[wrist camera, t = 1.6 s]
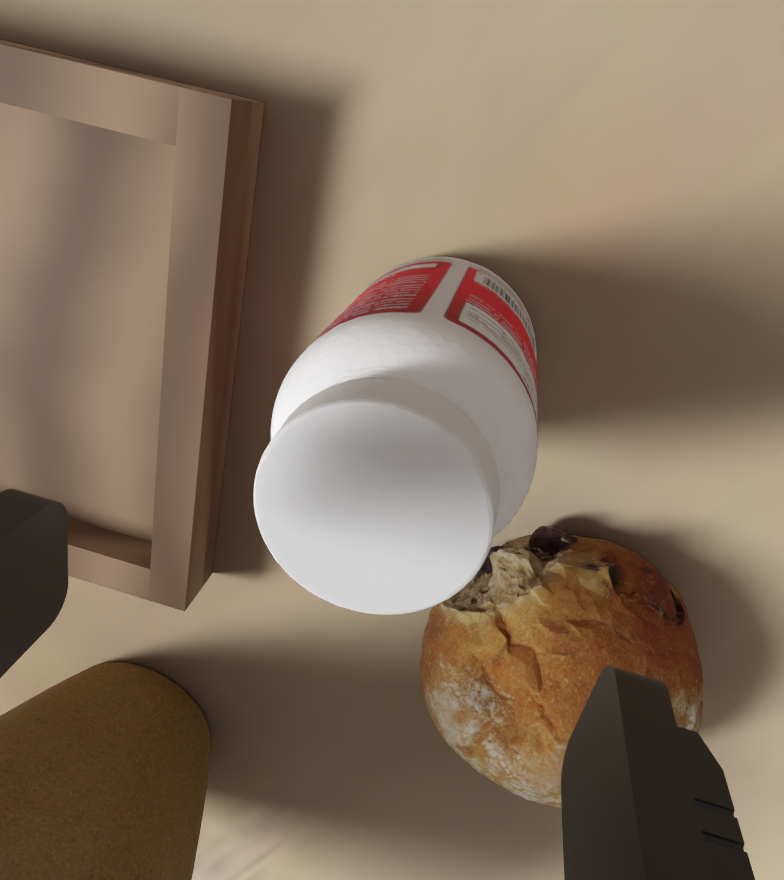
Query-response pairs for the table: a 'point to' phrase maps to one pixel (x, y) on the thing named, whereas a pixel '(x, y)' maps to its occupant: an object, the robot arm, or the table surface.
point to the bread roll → (549, 652)
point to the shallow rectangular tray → (122, 308)
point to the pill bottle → (403, 439)
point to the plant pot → (103, 779)
